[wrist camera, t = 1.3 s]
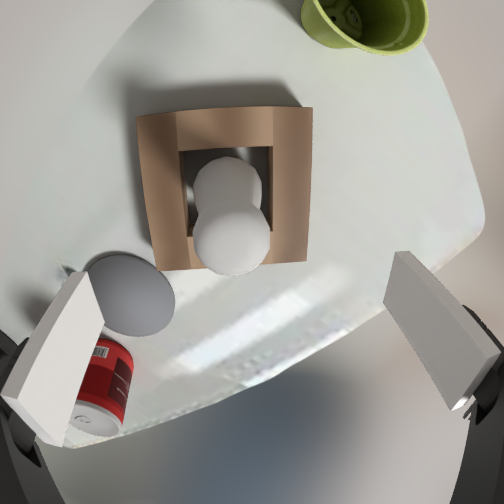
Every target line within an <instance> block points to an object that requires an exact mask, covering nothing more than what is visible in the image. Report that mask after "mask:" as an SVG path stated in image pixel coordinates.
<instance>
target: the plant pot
mask: <svg viewBox="0 0 504 504" xmlns="http://www.w3.org/2000/svg"><path fill="white" fill-rule="evenodd" d="M350 11H352V12H354V14H355V16H356V19H357V22H356V23H355V22H354V19H353V16H352V14H351V12H350ZM331 17H335V18H336V21H332V19H331ZM428 21H429V15H428V8H427V3H426V0H323V1H318V0H305V1H304V3H303V5H302V8H301V22H302V25H303V27H304V29H305V30H306V32H307V33H308V34H309V35H310V36H311V37H312V38H313V39H314V40H316V41H317V42H319V43H321V44H323V45H325V46H327V47H330V48H359V49H362V50H364V51H367V52H370V53H373V54H378V55H399V54H403V53H406V52H409V51H411V50H412V49H414V48H415V47H416V46H418V45H419V44H420V43H421V41H422V40H423V38H424V36H425V34H426V33H427V29H428V23H429V22H428Z"/></svg>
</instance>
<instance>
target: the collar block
mask: <svg viewBox="0 0 504 504" xmlns="http://www.w3.org/2000/svg"><path fill="white" fill-rule="evenodd" d="M312 122H313V108H312V107H281V106H257V107H226V108H209V109H196V110H185V111H176V112H167V113H159V114H152V115H145V116H138V117H136V127H137V139H138V149H139V158H140V167H141V175H142V183H143V191H144V198H145V205H146V211H147V218H148V224H149V230H150V235H151V241H152V247H153V252H154V257H155V262H156V267H157V271H171V270H187V269H202V268H207V267H205V266H204V265H203V264H202V262H201V261H200V259H199V258H198V256H197V255H196V253H195V250H194V243H193V229H194V226H195V224H190V220H189V211H188V201H187V191H186V180H185V169H184V157H183V151H188V150H199V149H213V148H230V147H253V146H267V173H268V219H266V221H267V223H268V225H269V227H270V249H269V251H268V253H267V255H266V256H265V258H264V260H263V262H262V263H261V264H275V263H288V262H301V261H306V259H307V245H308V230H309V213H310V192H311V167H312ZM261 264H259V265H261Z"/></svg>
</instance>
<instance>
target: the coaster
mask: <svg viewBox="0 0 504 504" xmlns="http://www.w3.org/2000/svg"><path fill="white" fill-rule="evenodd" d="M87 273H88V276H89V279H90V282H91V285H92V288H93V291H94V294H95V297H96V300H97V302H98V305H99V308H100V311H101V313H102V316H103V319H104V321H105V323H104V326H106V327H107V328H109V329H111V330H113V331H115V332H117V333H120V334H123V335H127V336H136V337H140V336H148V335H152V334H155V333H157V332H159V331H161V330H162V329H163V328H165V327H166V326H167V325H168V323H169V322H170V320H171V319H172V316H173V313H174V308H175V297H174V292H173V289H172V287H171V285H170V283H169V282H168V280H167V279H166V277H165V276H164V275H163V274H162V273H161V272H160V271H157V268H156V267H154V266H153V265H151V264H150V263H148V262H146V261H144V260H142V259H139V258H137V257H133V256H129V255H112V256H108V257H105V258H102V259H100V260H99V261H97V262H96V263H95V264H94V265H93V266H92V267H91V268H90V269H89V271H88V272H87Z"/></svg>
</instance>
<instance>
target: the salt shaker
mask: <svg viewBox="0 0 504 504" xmlns="http://www.w3.org/2000/svg"><path fill="white" fill-rule="evenodd" d="M193 191H194V201H195V204H196V208H197V211H198V214H199V216H198V219H197V221H196V224H195V226H194V229H193V243H194V250H195V253H196V255H197V256H198V258H199V259H200V261H201V262H202V264H203V265H204V266H205V267H207V268H208V269H210V270H212V271H213V272H215V273H217V274H221V275H229V276H236V275H240V274H244V273H248V272H250V271H252V270H253V269H254V268H256V267H257V266H258V265H259V264H261V263H262V262H263V260H264V258H265V256H266V255H267V253H268V251H269V249H270V227H269V225H268V223H267V221H266V219H265V217H264V215H263V213H262V212H261V210H260V204H261V198H262V186H261V180H260V178H259V176H258V174H257V172H256V170H255V168H254V167H252V166H251V165H249V164H248V163H246V162H245V161H244V160H242V159H237V158H232V157H227V156H226V157H222V158H219V159H215V160H212V161H210V162H209V163H208V164H207V165H205V166H204V167H203V168H202V169H201V170H200V171H199V172H198V175H197V177H196V179H195V182H194V184H193Z"/></svg>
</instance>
